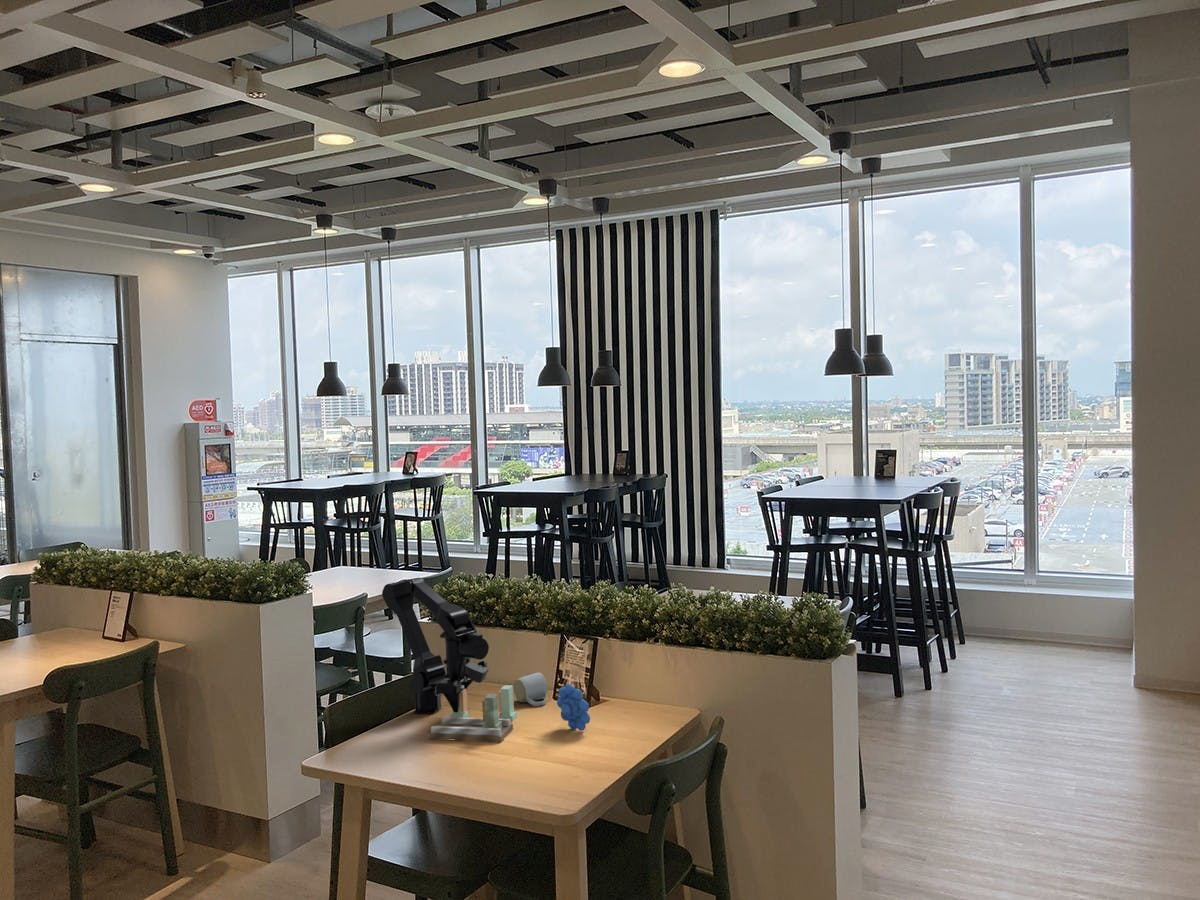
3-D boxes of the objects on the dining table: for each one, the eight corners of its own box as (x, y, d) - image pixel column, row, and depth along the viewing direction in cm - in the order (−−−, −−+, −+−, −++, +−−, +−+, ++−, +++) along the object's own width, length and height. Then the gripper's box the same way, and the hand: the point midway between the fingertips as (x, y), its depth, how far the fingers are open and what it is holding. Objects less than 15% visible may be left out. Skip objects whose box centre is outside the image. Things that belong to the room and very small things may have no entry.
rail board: (428, 739, 255) (426, 699, 254) (443, 726, 264) (441, 688, 264) (501, 742, 250) (499, 702, 250) (513, 729, 260) (511, 690, 259)
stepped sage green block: (449, 720, 269) (448, 688, 269) (455, 716, 273) (453, 684, 273) (463, 721, 268) (461, 689, 268) (468, 716, 272) (467, 685, 272)
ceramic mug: (512, 700, 286) (511, 674, 285) (536, 694, 290) (535, 669, 290) (529, 709, 277) (529, 683, 277) (554, 703, 282) (553, 677, 281)
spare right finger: (498, 721, 267) (497, 689, 267) (503, 716, 271) (502, 685, 271) (512, 721, 266) (511, 689, 266) (517, 717, 270) (515, 685, 270)
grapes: (547, 729, 259) (545, 685, 258) (565, 722, 264) (563, 679, 263) (578, 738, 251) (576, 692, 250) (596, 731, 256) (594, 686, 255)
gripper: (471, 664, 259) (474, 721, 260) (494, 646, 277) (497, 700, 278) (433, 663, 261) (435, 720, 262) (458, 645, 280) (460, 699, 280)
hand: (458, 709), depth 271 cm, fingers open, 4 cm apart
